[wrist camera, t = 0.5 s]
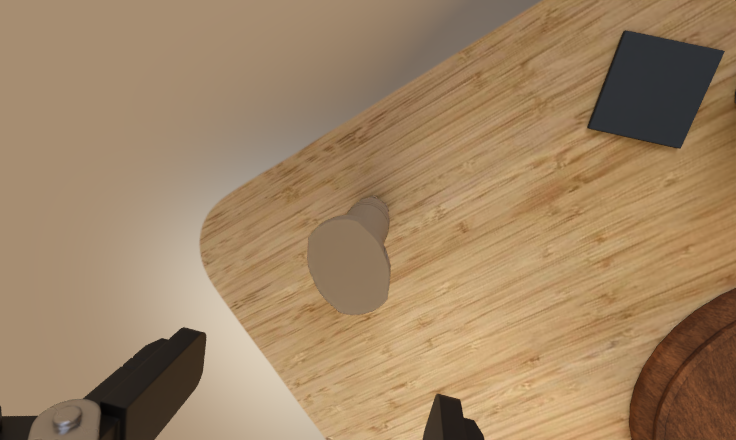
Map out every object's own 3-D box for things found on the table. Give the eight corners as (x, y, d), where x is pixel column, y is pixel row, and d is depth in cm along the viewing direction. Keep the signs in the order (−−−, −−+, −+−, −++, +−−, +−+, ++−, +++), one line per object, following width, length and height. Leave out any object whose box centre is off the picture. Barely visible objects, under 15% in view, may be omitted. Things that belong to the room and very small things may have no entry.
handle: (361, 246, 39) (331, 322, 24) (338, 188, 37) (293, 233, 23) (405, 232, 38) (402, 303, 24) (384, 172, 36) (366, 209, 22)
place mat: (623, 31, 31) (625, 30, 31) (721, 51, 31) (725, 51, 30) (586, 128, 33) (588, 128, 33) (677, 148, 33) (680, 148, 33)
